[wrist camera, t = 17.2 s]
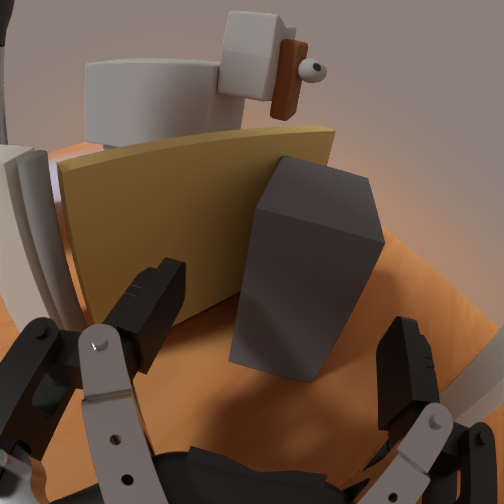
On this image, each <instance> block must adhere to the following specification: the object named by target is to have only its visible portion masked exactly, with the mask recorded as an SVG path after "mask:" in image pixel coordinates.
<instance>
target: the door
mask: <svg viewBox="0 0 504 504" xmlns="http://www.w3.org/2000/svg"><path fill="white" fill-rule="evenodd" d="M334 135H335V131H334V130H332V129H329V128H326V127H324V126H287V127H270V128H254V129H242V130H231V131H221V132H212V133H204V134H196V135H188V136H181V137H175V138H168V139H162V140H156V141H150V142H144V143H139V144H134V145H129V146H124V147H119V148H114V149H109V150H105V151H100V152H96V153H92V154H88V155H83V156H79V157H75V158H72V159H68V160H64V161H60V162H57V163H56V164H57V173H58V180H59V188H60V194H61V201H62V207H63V213H64V218H65V223H66V228H67V233H68V238H69V243H70V247H71V252H72V256H73V260H74V264H75V268H76V272H77V276H78V279H79V283H80V287H81V290H82V294H83V297H84V300H85V304H86V307H87V310H88V313H89V316H90V319H91V322H92V325H95V324H101V323H102V322H103V321H104V320H105V318H106V317H107V315H108V314H109V313H110V311H111V310H112V308H113V307H114V306H115V304H116V303H117V302H118V300H119V299H120V297H121V296H122V295H123V293H125V291H126V289H127V288H128V287H129V285H131V283H132V281H133V280H134V279H135V277H136V276H137V275H138V274H139V273H140V272H142V271H144V270H145V269H147V268H148V267H152V268H155V269H157V267H158V266H159V265H160V263H161V262H162V260H163V259H164V258H165V257H168V258H171V259H175V260H179V261H182V262H185V263H186V294H185V299H184V303H183V306H182V308H181V310H180V312H179V314H178V315H177V317H176V319H175V321H174V323H173V325H172V326H174V325H176V324H178V323H180V322H182V321H184V320H186V319H188V318H190V317H192V316H194V315H196V314H198V313H199V312H201V311H203V310H205V309H207V308H209V307H211V306H213V305H215V304H217V303H219V302H221V301H223V300H224V299H226V298H228V297H230V296H232V295H234V294H236V293H238V292H240V291H241V288H242V282H243V276H244V271H245V265H246V259H247V254H248V248H249V242H250V237H251V231H252V226H253V220H254V214H255V209H256V206H257V204H258V202H259V201H260V199H261V197H262V195H263V193H264V191H265V189H266V187H267V185H268V183H269V181H270V179H271V178H272V176H273V174H274V172H275V170H276V168H277V166H278V164H279V162H280V161H281V159H282V157H283V155H284V156H289V157H293V158H297V159H301V160H305V161H309V162H312V163H316V164H320V165H324V166H327V163H328V159H329V155H330V151H331V147H332V143H333V139H334Z"/></svg>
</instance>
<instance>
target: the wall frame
mask: <svg viewBox="0 0 504 504" xmlns="http://www.w3.org/2000/svg"><path fill="white" fill-rule="evenodd" d="M0 295H1V297H2V299H3V301H4V304H5V306H6V308H7V310H8V312H9V313H10V315H11V317H12V319H13V321H14V323H15V325H16V327H17V328H18V330H19V332H20V333H21V332H22V331H23V329H24V328H25V326H26V325H27V324H28V323H29V322H30V321H32V320H33V319H36V318H39V317H47V318H50V319H52V320H53V321H55V323H56V324H57V327H58V329H59V330H67V331H76V332H83V331H84V330H85V329H86V328H87V325H86V322H85V319H84V316H83V313H82V310H81V307H80V304H79V301H78V298H77V295H76V292H75V288H74V285H73V282H72V278H71V274H70V271H69V267H68V263H67V260H66V256H65V252H64V247H63V243H62V239H61V234H60V230H59V225H58V220H57V215H56V210H55V204H54V199H53V193H52V186H51V179H50V172H49V164H48V155H47V151H44V150H38V151H35V149H34V147H26V146H12V145H0ZM439 398H440V404H442V405H443V406H445V407H446V408H447V409H448V410H449V411H450V413H451V415H452V418H453V421H454V422H456V423H458V424H461V425H463V426H466V427H468V428H470V427H471V426H472V425H474V424H475V423H477V422H480V421H482V420H483V419H484V418H486V417H487V416H488V415H490V414H491V413H492V412H493V411H495V410H496V409H497V408H498V407H499V406H501V405H502V404H503V403H504V325H503V327H502V328H501V329H500V330H499V331H498V333H497V334H496V335H495V336H494V338H493V339H492V340H491V341H490V342H489V343H488V345H487V346H486V347H485V348H484V349H483V350H482V351H481V353H480V354H479V355H478V356H477V357H476V358H475V359H474V360H473V361H472V362H471V363H470V364H469V366H468V367H467V368H466V369H465V370H464V371H463V372H462V373H461V374H460V375H459V376H458V377H457V378H456V379H455V380H454V381H453V382H452V383H451V384H450V385H449V386H448V387H446V388H445V389H444V390H443V391H442V392H441V393H440V394H439Z"/></svg>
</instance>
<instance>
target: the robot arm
mask: <svg viewBox="0 0 504 504" xmlns="http://www.w3.org/2000/svg"><path fill="white" fill-rule="evenodd" d="M13 6H14V0H0V145H8V140H7V130H6V119H5V103H4V81H3V80H4V46H5V37H6V30H7V27H8V24H9V21H10V18H11V15H12V11H13ZM185 294H186V263H185V262H182V261H179V260H175V259H171V258H168V257H165V258H164V259H163V260H162V262H161V263H160V265H159V266H158V267H157V269H155V268H152V267H148V268H147V269H145V270H144V271H142V272H140V273H139V274H138V275H137V276H136V277H135V279H134V280H133V281H132V283H131V285H129V287H128V288H127V289H126V291H125V293H123V295H122V296H121V297H120V299H119V300H118V302H117V303H116V304H115V306H114V307H113V308H112V310H111V311H110V313H109V314H108V315H107V317H106V318H105V320H104V321H103V322H102V323H101V324H95V325H92V326H90V327H88V328H86V329H85V330H84V331H83V332H76V331H67V330H59V329H58V327H57V324H56V323H55V321H53V320H52V319H50V318H47V317H39V318H36V319H33V320H32V321H30V322H29V323H28V324H27V325H26V326H25V328H24V329H23V331H22V332H21V333H20V335H19V336H18V338H17V339H16V340H15V342H14V343H13V345H12V346H11V348H10V349H9V351H8V352H7V354H6V355H5V357H4V358H3V360H2V361H1V363H0V504H415V503H416V502H417V501H418V499H419V498H420V496H421V495H422V493H423V495H422V504H497V464H496V450H495V439H494V434H493V432H492V430H491V428H490V427H489V426H488V425H487V424H485V423H483V422H477V423H475V424H474V425H472V426H471V427H470V428H468V427H466V426H463V425H461V424H458V423H456V422H454V421H453V418H452V415H451V413H450V411H449V410H448V409H447V408H446V407H445V406H443V405H442V404H440V398H439V391H438V385H437V379H436V373H435V370H434V363H433V360H432V353H431V348H430V345H429V344H428V342H427V340H426V338H425V337H424V335H420V333H419V328H418V324H417V321H416V320H414V319H409V318H405V317H400V316H398V317H396V318H395V319H394V321H393V322H392V324H391V325H390V327H389V328H388V330H387V332H386V333H385V335H384V336H383V337H382V339H381V340H380V342H379V344H378V347H377V351H376V364H377V387H378V430H384V431H388V437H387V438H386V439H385V440H384V441H383V442H382V444H381V445H380V446H379V447H378V449H377V450H376V451H375V452H374V453H373V455H372V456H371V457H370V458H369V459H368V460H367V461H366V463H365V464H364V465H363V466H362V467H361V468H360V469H359V470H358V471H357V472H356V473H355V474H354V475H353V476H352V477H351V478H349V479H348V480H347V481H346V482H344V483H343V484H342V485H341V486H340V487H339V488H337V487H336V486H334V485H332V484H330V483H328V482H326V476H327V475H325V474H317V473H309V472H302V471H295V470H294V471H279V472H257V471H254V470H252V469H250V468H248V467H246V466H244V465H242V464H240V463H238V462H236V461H234V460H232V459H230V458H228V457H226V456H224V455H220V454H216V453H213V452H209V451H206V450H203V449H199V448H196V447H193V446H190V449H189V452H183V451H178V452H167V453H162V454H158V455H156V454H155V451H154V448H153V445H152V443H151V440H150V437H149V434H148V431H147V428H146V425H145V422H144V419H143V416H142V412H141V409H140V405H139V402H138V398H137V395H136V391H135V387H134V383H133V379H134V377H135V375H136V373H137V371H139V372H141V373H144V374H146V375H147V373H148V371H149V369H150V367H151V365H152V363H153V361H154V359H155V357H156V355H157V353H158V352H159V350H160V348H161V346H162V344H163V342H164V340H165V338H166V336H167V334H168V332H169V331H170V329H171V327H172V325H173V323H174V321H175V319H176V317H177V315H178V314H179V312H180V310H181V308H182V306H183V303H184V299H185ZM76 388H77V389H84V399H83V400H82V413H83V419H84V424H85V429H86V434H87V439H88V444H89V448H90V452H91V457H92V461H93V465H94V468H95V472H96V476H97V479H98V483H97V484H94V485H92V486H90V487H88V488H85V489H83V490H81V491H78V492H76V493H73V494H71V495H68V496H66V497H63V498H61V499H58V500H55V501H53V502H50V503H49V501H48V499H47V497H46V494H45V485H46V479H47V476H46V471H45V469H44V467H43V465H42V463H41V460H42V458H43V456H44V453H45V451H46V449H47V447H48V444H49V442H50V440H51V438H52V436H53V434H54V431H55V429H56V427H57V425H58V423H59V421H60V419H61V417H62V415H63V413H64V411H65V409H66V407H67V405H68V403H69V401H70V399H71V397H72V395H73V393H74V391H75V389H76ZM459 470H461V485H460V495H459V498H458V499H457V501H456V497H457V471H459Z"/></svg>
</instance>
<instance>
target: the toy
mask: <svg viewBox="0 0 504 504" xmlns="http://www.w3.org/2000/svg"><path fill="white" fill-rule="evenodd" d="M295 34H296V28H295V27H291V26H285V25H284V23H283V21H282V20H281V18H280V16H278V15H275V14H266V13H256V12H244V11H231V12H229V16H228V21H227V25H226V30H225V35H224V40H223V45H222V51H221V59H220V62H215V61H204V60H190V59H169V58H168V59H167V58H133V59H120V60H111V61H101V62H94V63H87V64H86V72H85V139H86V141H87V142H90V143H96V144H102V145H103V147H104V150H109V149H114V148H119V147H124V146H129V145H134V144H139V143H144V142H150V141H156V140H162V139H168V138H175V137H181V136H188V135H196V134H204V133H212V132H221V131H231V130H241V123H242V116H243V110H244V103H245V98H248V99H253V100H258V101H272V104H271V110H270V116H271V117H272V118H274V119H278V120H283V121H287V120H288V119H289V118H291V117H292V116H293V115H294V114H295V112H296V109H297V104H298V98H299V93H300V88H301V83H302V80H303V81H305V82H307V83H316V82H320V81H322V80H323V79H324V78H325V77H326V73H327V71H326V67H325V65H324V64H323V63H322V62H320V61H318V60H316V59H313V58H307V59H306V56H307V50H308V45H307V43H305V42H300V41H296V40H295Z"/></svg>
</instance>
